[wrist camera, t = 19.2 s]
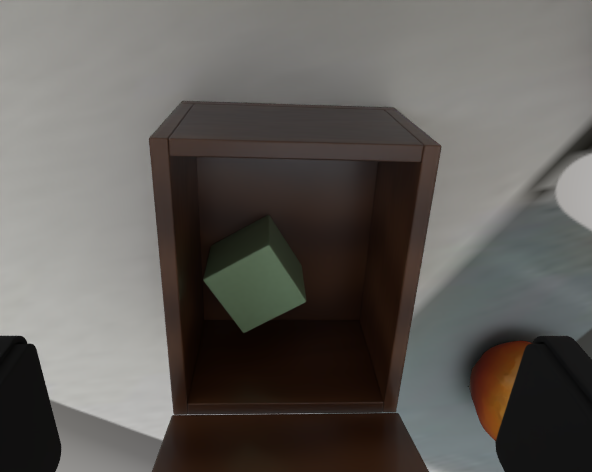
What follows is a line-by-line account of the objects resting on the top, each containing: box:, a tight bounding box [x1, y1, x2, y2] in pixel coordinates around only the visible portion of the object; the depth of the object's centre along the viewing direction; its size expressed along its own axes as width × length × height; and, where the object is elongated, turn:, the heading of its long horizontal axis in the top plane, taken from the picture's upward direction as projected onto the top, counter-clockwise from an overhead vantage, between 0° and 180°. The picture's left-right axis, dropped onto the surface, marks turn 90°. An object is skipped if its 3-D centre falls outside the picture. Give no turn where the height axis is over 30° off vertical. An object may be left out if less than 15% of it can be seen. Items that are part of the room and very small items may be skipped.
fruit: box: [468, 341, 532, 441], centre depth 36 cm, size 8×8×8 cm
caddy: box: [149, 101, 441, 415], centre depth 28 cm, size 16×13×9 cm
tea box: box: [203, 215, 306, 333], centre depth 30 cm, size 4×4×4 cm
